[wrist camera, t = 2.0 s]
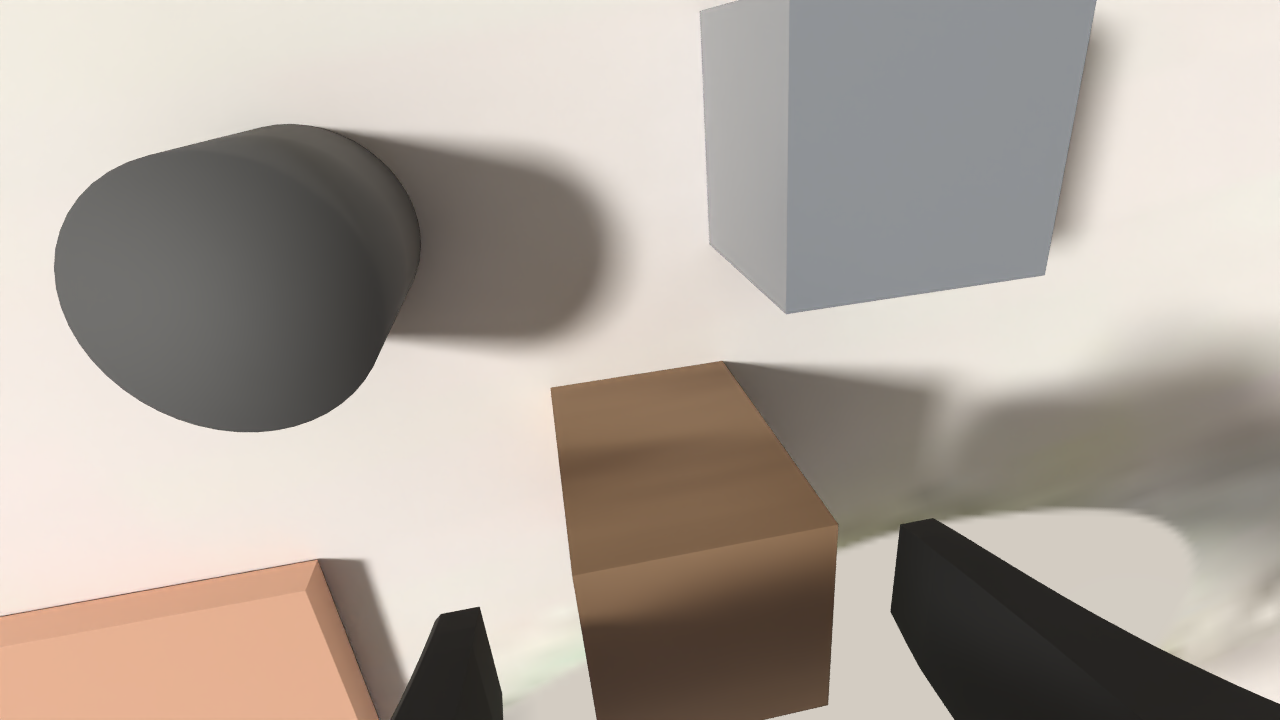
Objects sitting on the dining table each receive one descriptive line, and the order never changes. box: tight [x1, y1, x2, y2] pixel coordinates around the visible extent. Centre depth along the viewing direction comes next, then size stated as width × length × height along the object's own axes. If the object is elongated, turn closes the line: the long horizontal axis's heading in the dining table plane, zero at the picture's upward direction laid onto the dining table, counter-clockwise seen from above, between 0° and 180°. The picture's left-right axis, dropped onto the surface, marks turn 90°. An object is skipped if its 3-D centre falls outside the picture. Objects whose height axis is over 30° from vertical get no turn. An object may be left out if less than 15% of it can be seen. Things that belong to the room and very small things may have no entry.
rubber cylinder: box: [54, 124, 421, 432], centre depth 11 cm, size 4×4×4 cm
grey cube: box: [700, 0, 1097, 314], centre depth 11 cm, size 4×4×4 cm
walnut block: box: [551, 361, 838, 720], centre depth 13 cm, size 4×4×6 cm
